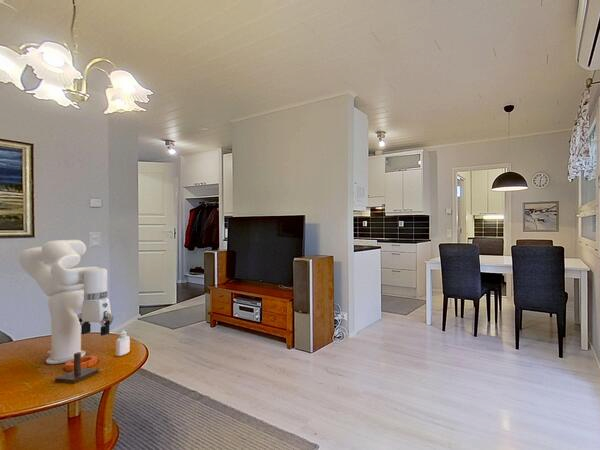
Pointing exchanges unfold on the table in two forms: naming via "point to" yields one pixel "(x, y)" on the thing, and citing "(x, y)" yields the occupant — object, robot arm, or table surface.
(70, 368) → the ring
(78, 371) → the post
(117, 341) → the eye dropper bottle
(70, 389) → the table surface
